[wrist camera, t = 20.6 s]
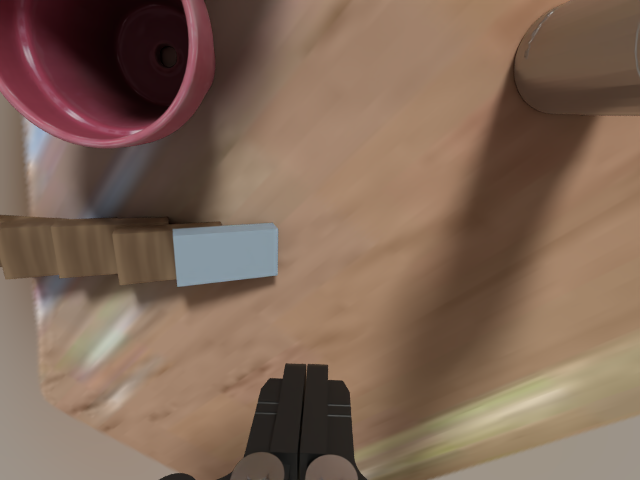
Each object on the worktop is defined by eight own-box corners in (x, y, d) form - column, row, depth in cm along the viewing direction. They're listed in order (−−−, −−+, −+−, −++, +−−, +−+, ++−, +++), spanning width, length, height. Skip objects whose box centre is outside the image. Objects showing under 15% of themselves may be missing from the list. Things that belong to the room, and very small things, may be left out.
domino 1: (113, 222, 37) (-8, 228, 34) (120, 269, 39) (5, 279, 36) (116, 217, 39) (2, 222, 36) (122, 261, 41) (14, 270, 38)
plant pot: (147, 162, 37) (60, 185, 25) (60, 21, 33) (-94, -32, 21) (270, 97, 35) (239, 88, 23) (192, -63, 31) (105, -176, 19)
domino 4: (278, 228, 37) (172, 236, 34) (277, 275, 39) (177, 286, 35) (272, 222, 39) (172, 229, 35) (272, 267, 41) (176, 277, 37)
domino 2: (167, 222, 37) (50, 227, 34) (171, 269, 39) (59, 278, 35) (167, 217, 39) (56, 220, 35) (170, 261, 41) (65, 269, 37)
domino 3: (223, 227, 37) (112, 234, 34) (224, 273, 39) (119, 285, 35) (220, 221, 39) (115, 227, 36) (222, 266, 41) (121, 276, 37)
